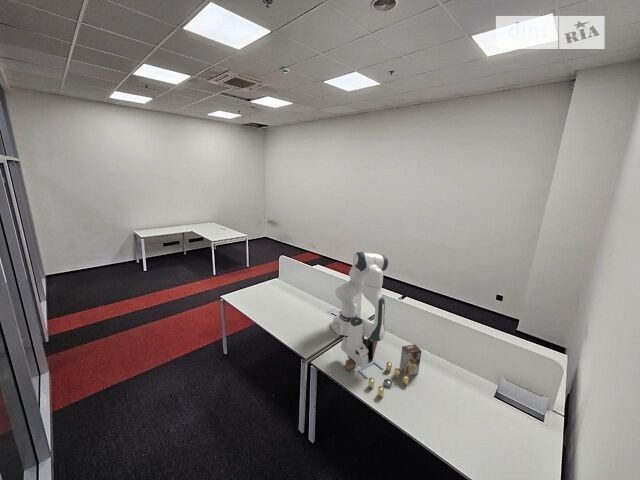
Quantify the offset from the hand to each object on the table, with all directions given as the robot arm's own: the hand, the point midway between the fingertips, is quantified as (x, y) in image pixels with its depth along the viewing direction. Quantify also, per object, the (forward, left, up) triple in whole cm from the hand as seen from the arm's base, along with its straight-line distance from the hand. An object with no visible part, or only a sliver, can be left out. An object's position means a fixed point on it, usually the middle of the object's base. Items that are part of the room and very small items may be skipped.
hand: (353, 364), depth 160 cm
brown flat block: (0, 0, -2) cm, 2 cm away
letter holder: (-6, +19, -2) cm, 20 cm away
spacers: (+20, +7, -2) cm, 21 cm away
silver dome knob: (+21, +7, -2) cm, 22 cm away
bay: (+8, +7, -2) cm, 11 cm away
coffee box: (+21, +26, -2) cm, 33 cm away
